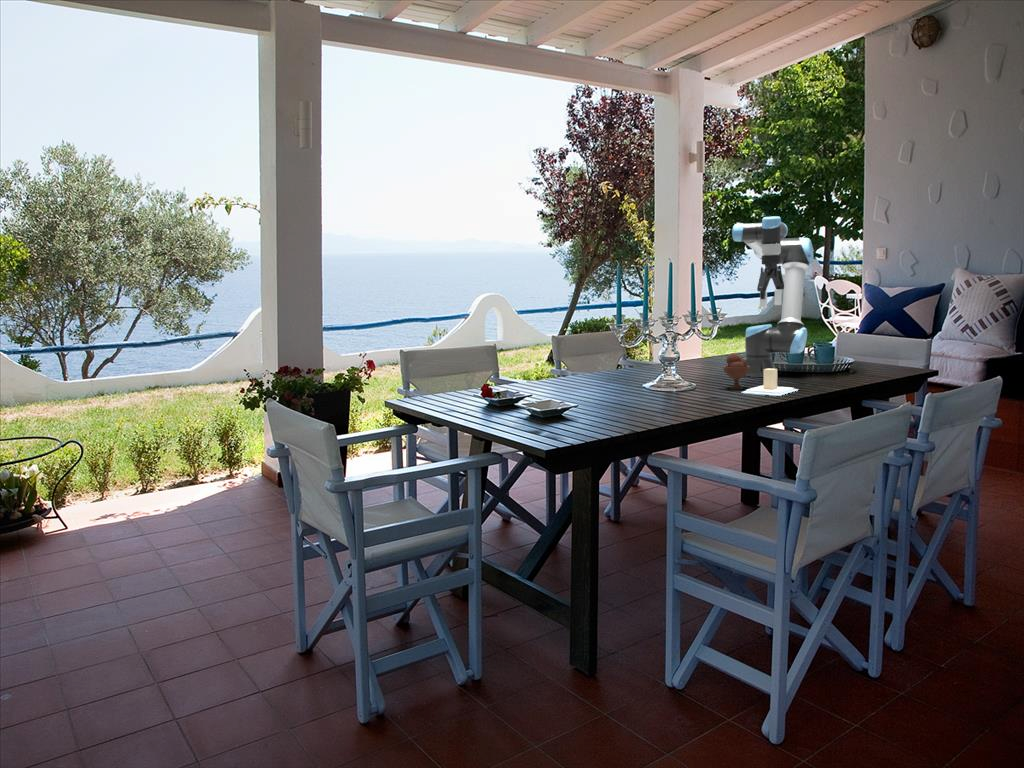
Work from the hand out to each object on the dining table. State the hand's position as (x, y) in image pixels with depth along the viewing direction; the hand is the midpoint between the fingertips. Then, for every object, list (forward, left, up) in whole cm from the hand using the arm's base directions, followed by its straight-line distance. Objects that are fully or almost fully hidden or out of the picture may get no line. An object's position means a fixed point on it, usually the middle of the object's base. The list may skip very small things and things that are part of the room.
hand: (770, 306), depth 353 cm
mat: (+13, +7, -34) cm, 37 cm away
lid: (+13, +7, -33) cm, 36 cm away
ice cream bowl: (+11, -9, -34) cm, 37 cm away
